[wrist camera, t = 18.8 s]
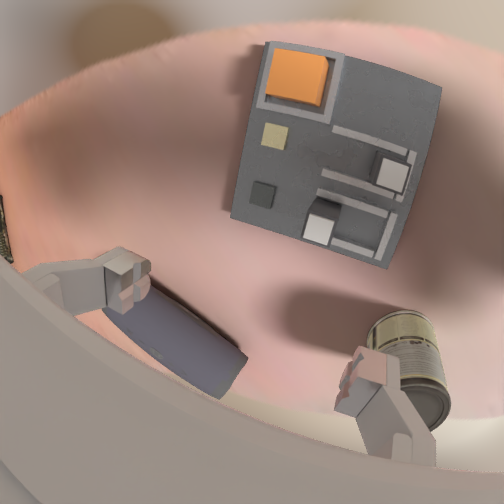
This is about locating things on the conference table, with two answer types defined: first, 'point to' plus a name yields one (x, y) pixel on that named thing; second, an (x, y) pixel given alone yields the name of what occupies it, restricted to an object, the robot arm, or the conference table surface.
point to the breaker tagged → (390, 173)
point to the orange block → (297, 76)
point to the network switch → (4, 237)
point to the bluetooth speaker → (181, 342)
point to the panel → (336, 153)
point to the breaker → (321, 222)
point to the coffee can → (415, 362)
